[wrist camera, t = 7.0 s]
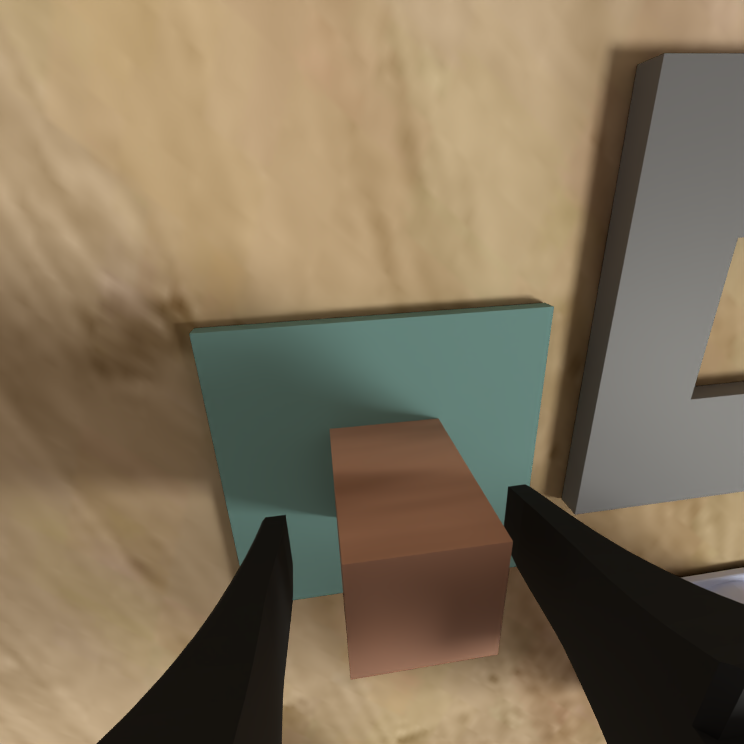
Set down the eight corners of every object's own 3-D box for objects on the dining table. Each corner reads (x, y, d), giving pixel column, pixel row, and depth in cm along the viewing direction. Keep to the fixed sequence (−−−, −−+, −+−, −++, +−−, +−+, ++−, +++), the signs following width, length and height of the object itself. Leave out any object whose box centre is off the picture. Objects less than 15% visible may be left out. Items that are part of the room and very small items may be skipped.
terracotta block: (435, 505, 17) (498, 654, 11) (336, 517, 16) (350, 679, 11) (438, 418, 15) (512, 541, 10) (329, 428, 15) (341, 565, 9)
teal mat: (512, 555, 19) (518, 565, 19) (250, 594, 18) (248, 606, 17) (544, 302, 15) (553, 306, 14) (194, 328, 13) (189, 333, 13)
